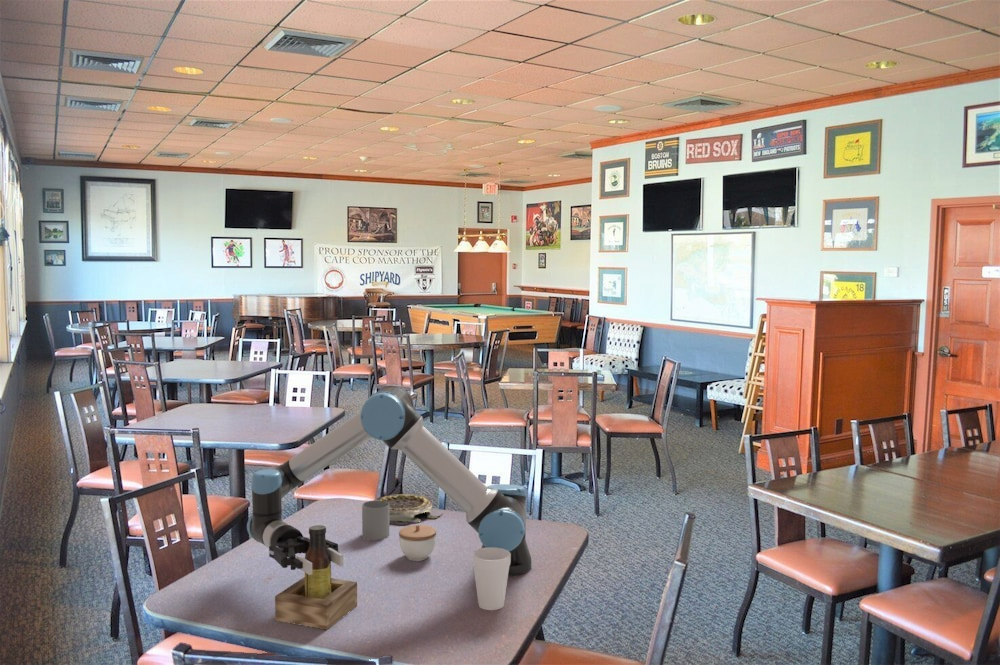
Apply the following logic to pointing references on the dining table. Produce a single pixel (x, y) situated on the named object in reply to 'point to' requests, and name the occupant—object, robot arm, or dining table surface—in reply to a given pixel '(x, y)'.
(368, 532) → the cup
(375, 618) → the dining table surface
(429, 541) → the lidded jar
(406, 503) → the pie
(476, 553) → the foam cup
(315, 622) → the open wooden box
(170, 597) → the dining table surface
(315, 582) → the sauce bottle
